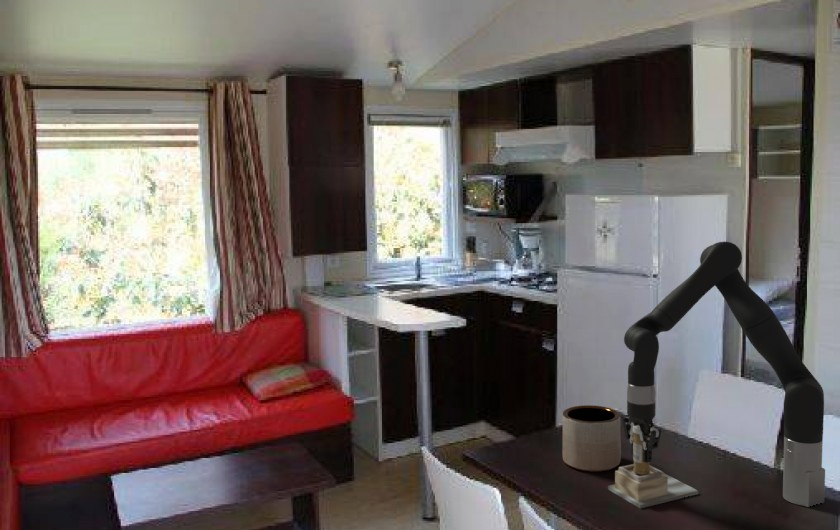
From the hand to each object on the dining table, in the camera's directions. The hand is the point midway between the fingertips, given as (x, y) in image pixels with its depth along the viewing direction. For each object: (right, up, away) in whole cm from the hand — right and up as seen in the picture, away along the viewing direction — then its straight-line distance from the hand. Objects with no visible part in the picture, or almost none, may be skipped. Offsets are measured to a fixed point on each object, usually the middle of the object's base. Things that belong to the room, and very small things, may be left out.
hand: (641, 458), depth 209 cm
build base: (+4, -10, +3) cm, 11 cm away
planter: (-8, -8, +26) cm, 28 cm away
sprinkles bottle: (0, -4, 0) cm, 4 cm away
